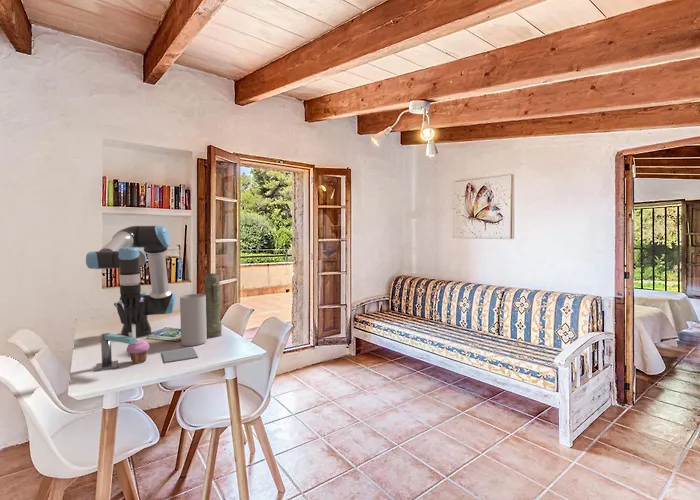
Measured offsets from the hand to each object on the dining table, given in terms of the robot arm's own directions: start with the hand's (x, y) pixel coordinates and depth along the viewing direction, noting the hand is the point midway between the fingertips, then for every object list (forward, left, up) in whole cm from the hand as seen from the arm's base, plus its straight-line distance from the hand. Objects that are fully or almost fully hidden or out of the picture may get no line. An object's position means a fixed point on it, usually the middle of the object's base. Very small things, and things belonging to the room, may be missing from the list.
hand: (132, 339), depth 159 cm
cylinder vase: (-28, +28, -13) cm, 42 cm away
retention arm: (-4, -5, -1) cm, 7 cm away
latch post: (-10, -10, -13) cm, 19 cm away
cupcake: (-10, +2, -14) cm, 17 cm away
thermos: (-38, +40, -13) cm, 56 cm away
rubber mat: (-10, +19, -13) cm, 25 cm away
